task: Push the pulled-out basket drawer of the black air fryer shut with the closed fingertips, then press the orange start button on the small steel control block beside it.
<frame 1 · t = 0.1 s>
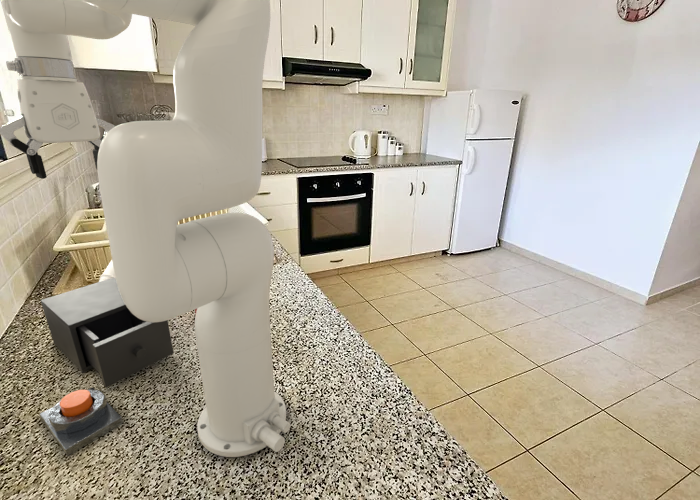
hand: (73, 174, 69), 31 cm above the countertop, tool pointing down, fingers open, 9 cm apart
fryer basket: (122, 338, 66), point 5 cm above the countertop, slide at 7.0 cm
beer can: (211, 314, 83), on the countertop
air fryer: (105, 341, 73), on the countertop
start button: (76, 403, 53), point 3 cm above the countertop, slide at 0.1 cm
control block: (82, 421, 55), on the countertop
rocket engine: (116, 294, 91), on the countertop
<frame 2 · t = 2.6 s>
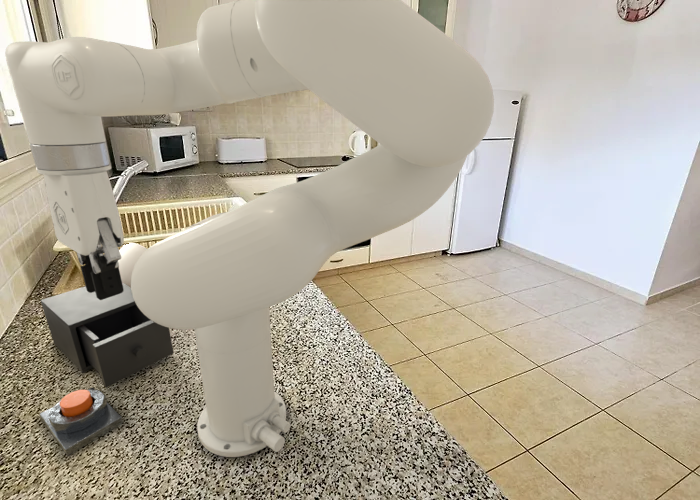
hand: (105, 291, 52), 19 cm above the countertop, tool pointing down, fingers closed
nothing on the countertop moved.
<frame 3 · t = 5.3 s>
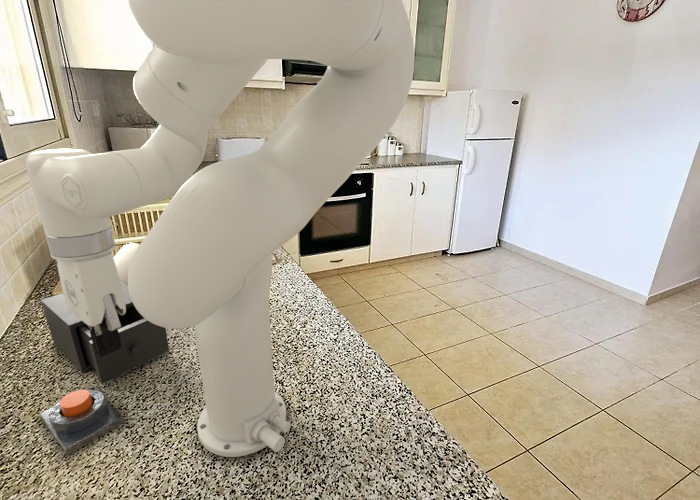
hand: (108, 350, 59), 7 cm above the countertop, tool pointing down, fingers closed
fryer basket: (118, 335, 67), point 5 cm above the countertop, slide at 5.6 cm, touching gripper
everything else where it was.
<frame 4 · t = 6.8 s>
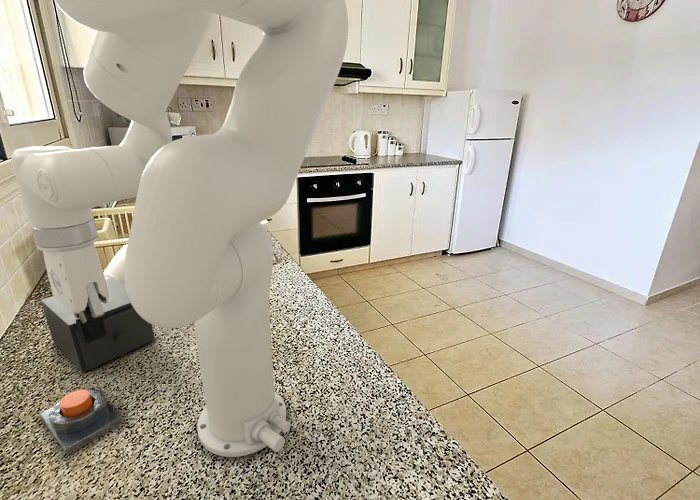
hand: (94, 337, 62), 7 cm above the countertop, tool pointing down, fingers closed
fryer basket: (105, 324, 70), point 5 cm above the countertop, slide at 0.0 cm, touching air fryer, gripper
everything else where it was.
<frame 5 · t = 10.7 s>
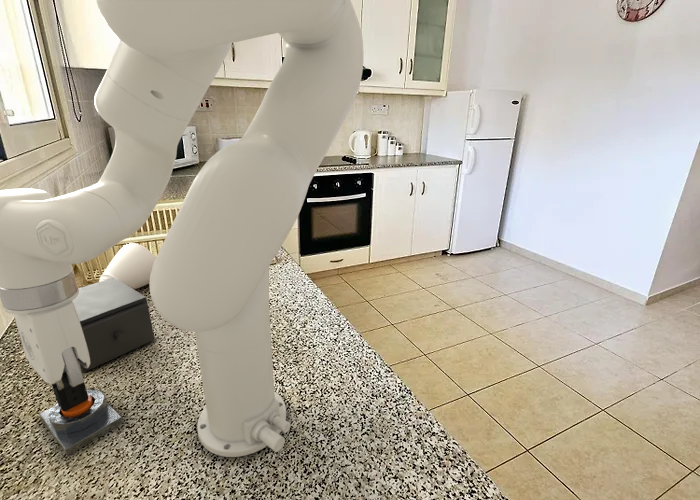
hand: (74, 403, 53), 3 cm above the countertop, tool pointing down, fingers closed
fryer basket: (105, 324, 70), point 5 cm above the countertop, slide at 0.0 cm
start button: (78, 407, 54), point 3 cm above the countertop, slide at -0.8 cm, touching gripper
everything else where it was.
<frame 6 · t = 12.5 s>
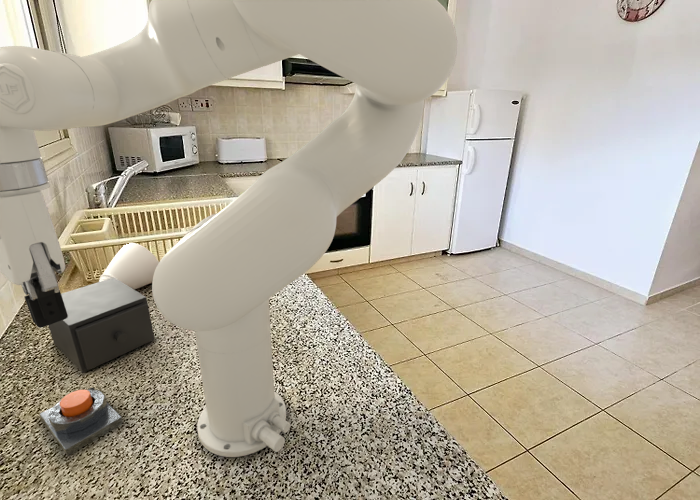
hand: (51, 320, 48), 18 cm above the countertop, tool pointing down, fingers closed
start button: (76, 403, 53), point 3 cm above the countertop, slide at 0.1 cm
everything else where it was.
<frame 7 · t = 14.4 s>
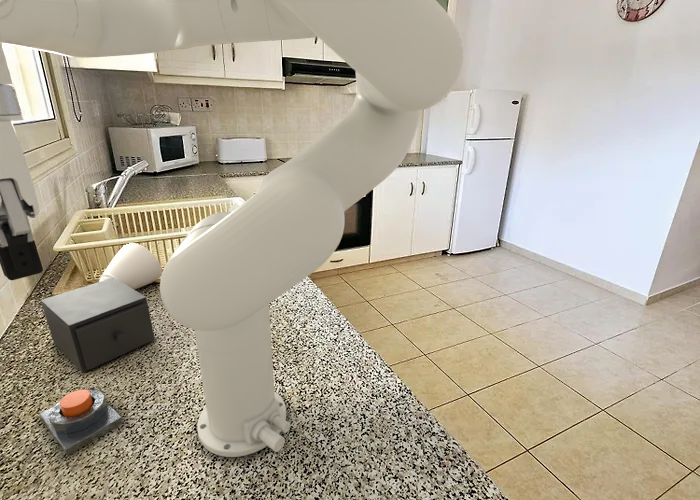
hand: (24, 274, 43), 25 cm above the countertop, tool pointing down, fingers closed
nothing on the countertop moved.
at the end: fryer basket slide at 0.0 cm; start button pushed in 1.1 cm at the most during the clip, back to where it started at the end; start button slide at 0.1 cm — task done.
